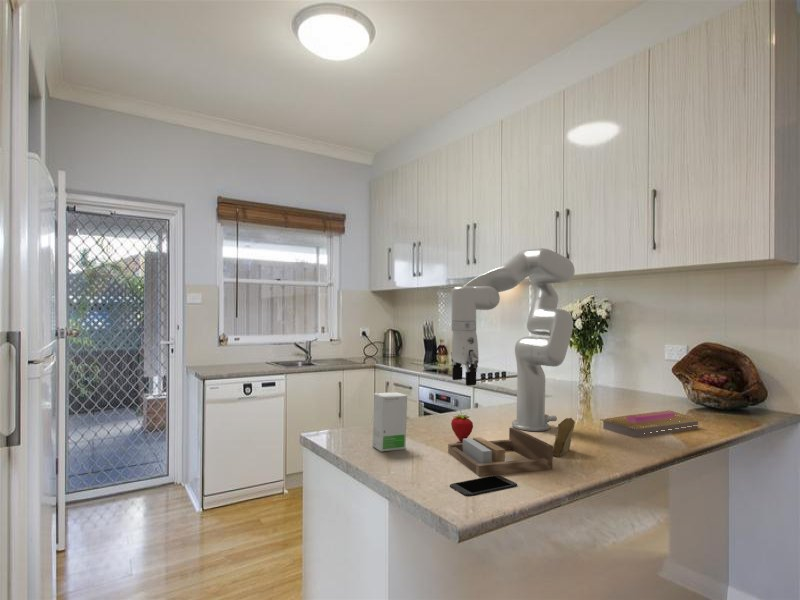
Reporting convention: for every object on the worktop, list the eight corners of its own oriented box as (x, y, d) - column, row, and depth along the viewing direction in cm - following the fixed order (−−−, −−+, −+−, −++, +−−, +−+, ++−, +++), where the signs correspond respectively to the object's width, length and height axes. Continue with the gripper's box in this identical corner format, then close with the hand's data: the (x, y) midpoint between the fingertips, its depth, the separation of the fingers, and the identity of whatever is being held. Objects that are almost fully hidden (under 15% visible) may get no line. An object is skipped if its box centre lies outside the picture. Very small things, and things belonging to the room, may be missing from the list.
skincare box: (380, 452, 131) (382, 396, 131) (371, 446, 136) (372, 392, 137) (407, 449, 134) (408, 394, 135) (396, 442, 140) (397, 391, 141)
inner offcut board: (480, 455, 131) (480, 437, 131) (504, 469, 120) (504, 449, 120) (472, 455, 130) (472, 437, 130) (496, 470, 119) (496, 450, 119)
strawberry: (462, 447, 138) (463, 413, 138) (446, 440, 144) (446, 408, 144) (477, 444, 141) (478, 411, 141) (460, 438, 147) (461, 406, 147)
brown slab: (663, 420, 179) (663, 405, 179) (701, 430, 166) (702, 412, 166) (599, 429, 164) (599, 412, 164) (635, 440, 151) (636, 421, 151)
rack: (513, 447, 138) (513, 427, 138) (552, 469, 120) (552, 445, 120) (448, 452, 132) (448, 431, 132) (478, 476, 114) (479, 451, 114)
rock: (565, 452, 127) (589, 443, 132) (548, 423, 131) (572, 415, 136) (542, 466, 134) (566, 457, 139) (527, 438, 139) (551, 430, 144)
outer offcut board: (470, 456, 130) (471, 438, 130) (491, 470, 118) (491, 450, 118) (462, 456, 129) (462, 438, 129) (482, 471, 118) (482, 451, 118)
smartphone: (447, 487, 107) (447, 483, 107) (498, 477, 114) (498, 473, 114) (466, 499, 101) (466, 495, 101) (519, 488, 108) (519, 484, 108)
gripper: (488, 328, 136) (488, 386, 136) (463, 325, 152) (463, 377, 152) (464, 328, 134) (464, 388, 134) (441, 325, 150) (441, 378, 150)
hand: (464, 382), depth 143 cm, fingers open, 9 cm apart
